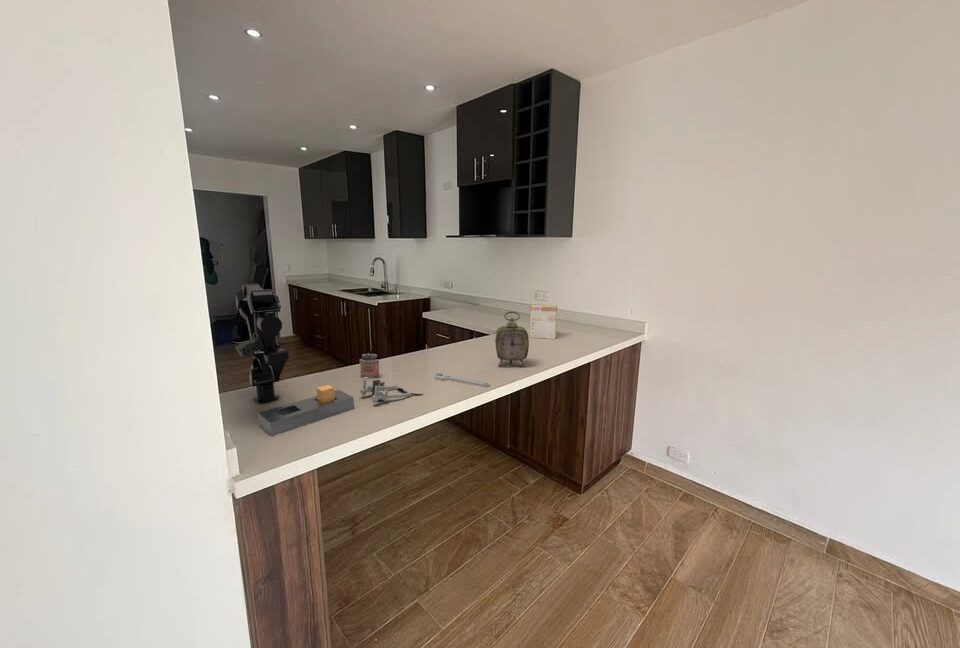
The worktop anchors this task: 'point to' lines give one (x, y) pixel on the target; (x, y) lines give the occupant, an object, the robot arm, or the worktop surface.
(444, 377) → the adjustable wrench
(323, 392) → the square peg
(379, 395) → the bike brake
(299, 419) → the block with square holes
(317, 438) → the worktop surface
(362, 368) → the red labelled jar
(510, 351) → the tabletop clock
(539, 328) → the coffeecake box
